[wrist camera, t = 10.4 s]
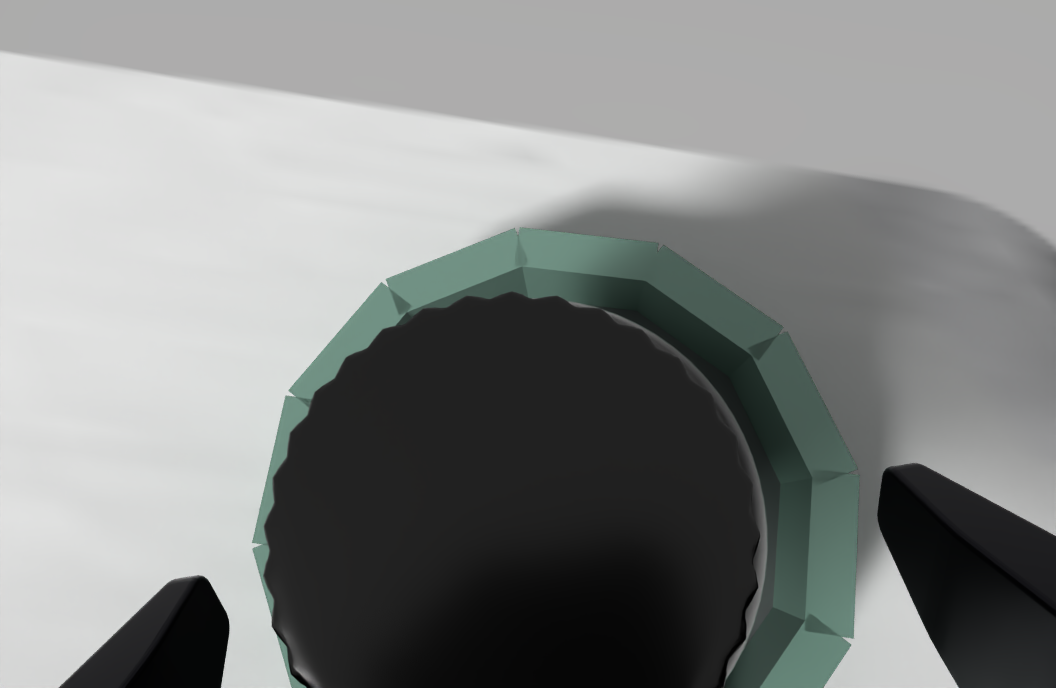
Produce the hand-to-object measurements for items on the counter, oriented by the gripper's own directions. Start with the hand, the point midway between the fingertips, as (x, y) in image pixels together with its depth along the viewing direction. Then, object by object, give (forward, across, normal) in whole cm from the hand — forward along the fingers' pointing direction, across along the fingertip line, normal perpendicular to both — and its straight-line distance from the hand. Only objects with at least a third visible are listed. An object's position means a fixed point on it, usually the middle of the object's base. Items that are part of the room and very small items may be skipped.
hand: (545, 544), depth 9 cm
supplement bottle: (+7, 0, +6) cm, 9 cm away
